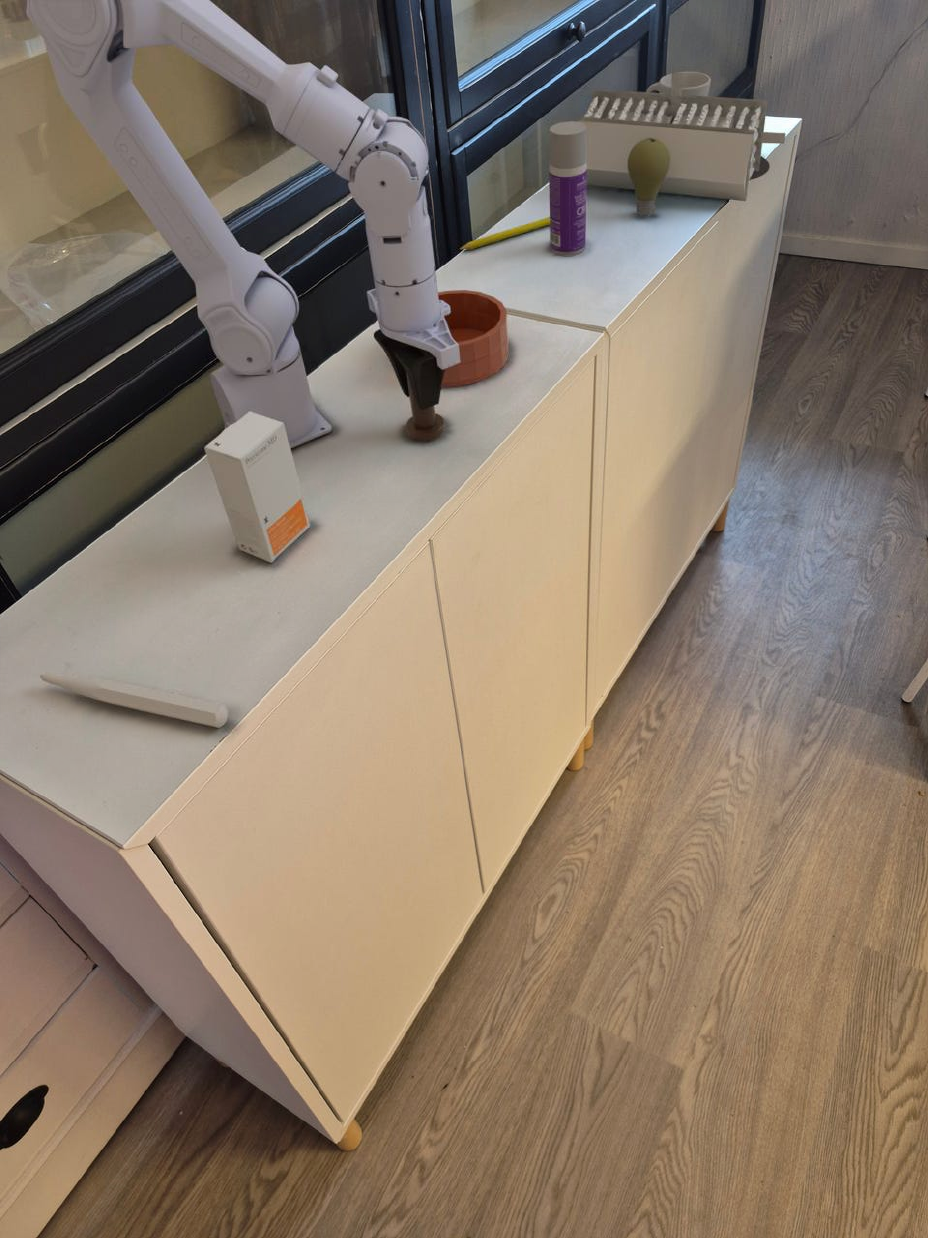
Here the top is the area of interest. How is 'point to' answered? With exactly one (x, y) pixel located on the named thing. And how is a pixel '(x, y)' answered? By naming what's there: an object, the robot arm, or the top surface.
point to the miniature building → (678, 139)
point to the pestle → (423, 421)
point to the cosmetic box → (258, 485)
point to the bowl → (475, 336)
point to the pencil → (507, 234)
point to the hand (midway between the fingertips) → (421, 399)
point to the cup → (685, 84)
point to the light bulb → (648, 172)
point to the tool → (143, 698)
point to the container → (567, 188)
